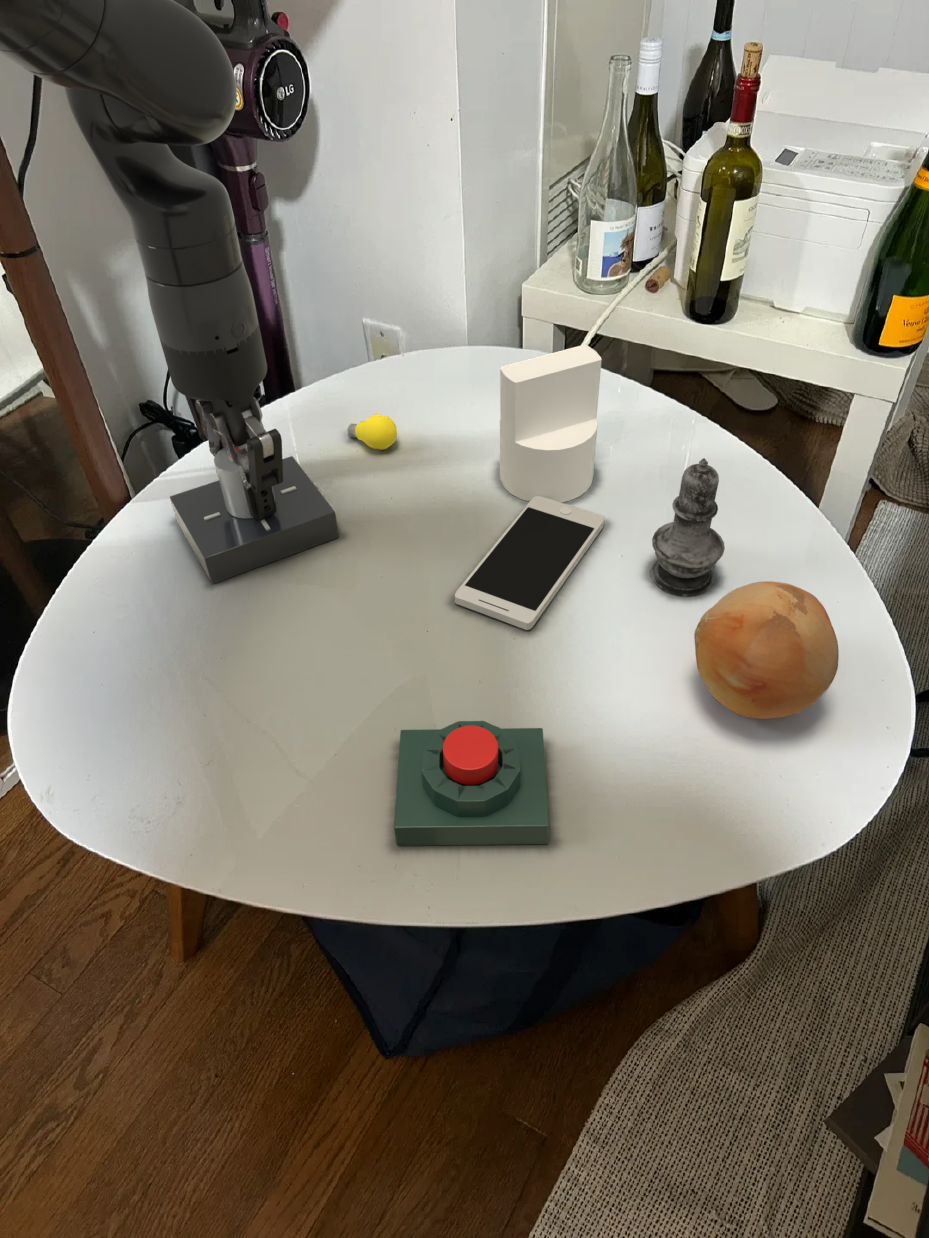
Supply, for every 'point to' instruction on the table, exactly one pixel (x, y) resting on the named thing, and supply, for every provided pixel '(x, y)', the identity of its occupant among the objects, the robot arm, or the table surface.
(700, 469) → the grey chess piece
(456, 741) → the stop button
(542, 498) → the smartphone
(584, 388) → the base with upright slab
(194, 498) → the dark grey flat block
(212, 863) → the table surface
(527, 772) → the button block
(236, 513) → the rotary knob
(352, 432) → the light bulb
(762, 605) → the onion
